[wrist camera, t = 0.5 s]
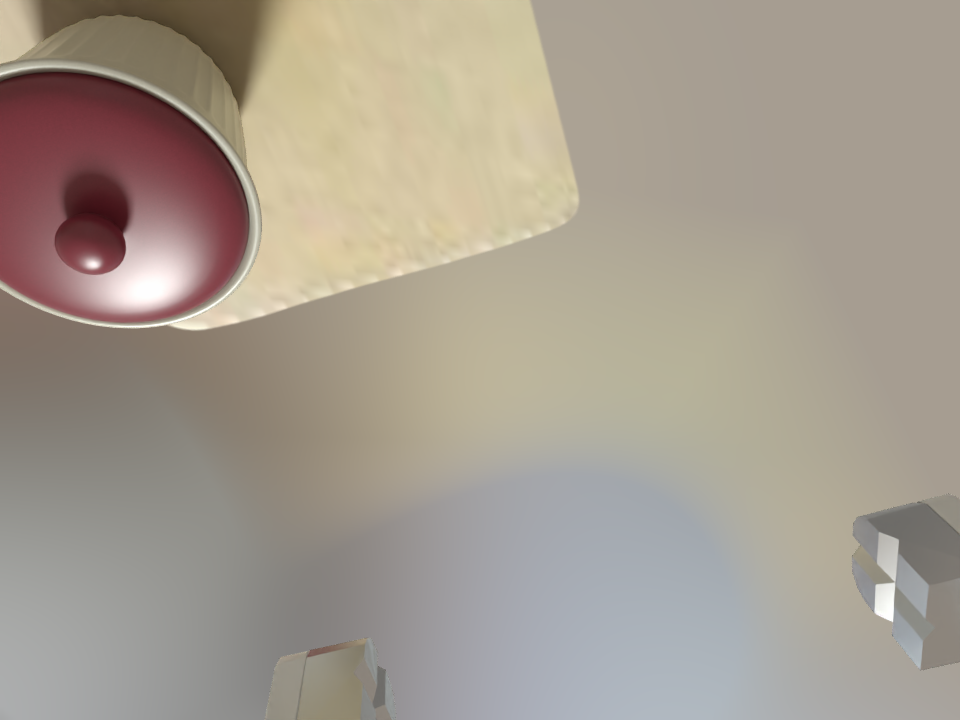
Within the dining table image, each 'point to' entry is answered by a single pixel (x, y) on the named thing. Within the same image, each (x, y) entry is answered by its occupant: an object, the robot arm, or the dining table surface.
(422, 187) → the dining table surface
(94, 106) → the canister
